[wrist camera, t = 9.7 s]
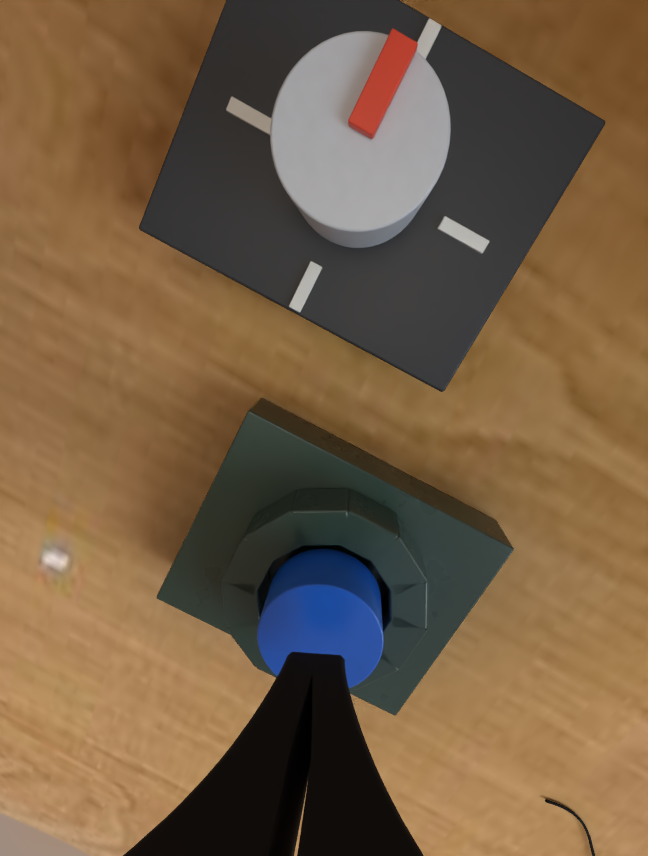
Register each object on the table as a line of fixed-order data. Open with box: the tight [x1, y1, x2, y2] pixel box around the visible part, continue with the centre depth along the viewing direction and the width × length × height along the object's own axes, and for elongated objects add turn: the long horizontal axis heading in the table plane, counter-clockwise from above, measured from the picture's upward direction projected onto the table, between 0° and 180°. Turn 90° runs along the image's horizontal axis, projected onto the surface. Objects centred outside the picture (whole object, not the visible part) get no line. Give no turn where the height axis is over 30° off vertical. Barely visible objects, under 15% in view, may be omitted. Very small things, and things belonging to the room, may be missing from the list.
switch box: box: [157, 398, 514, 715], centre depth 18 cm, size 10×8×4 cm
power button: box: [257, 549, 384, 688], centre depth 15 cm, size 4×4×2 cm
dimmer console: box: [139, 0, 605, 392], centre depth 15 cm, size 10×8×3 cm
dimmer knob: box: [270, 29, 451, 248], centre depth 12 cm, size 4×4×4 cm
